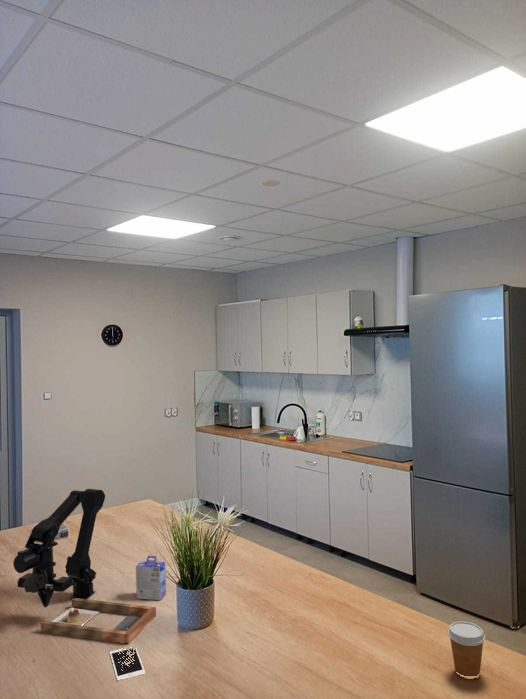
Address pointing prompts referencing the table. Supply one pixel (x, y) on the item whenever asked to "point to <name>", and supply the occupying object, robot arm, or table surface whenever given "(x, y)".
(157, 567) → the ink cartridge box
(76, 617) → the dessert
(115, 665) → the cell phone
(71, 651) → the table surface
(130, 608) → the walled channel
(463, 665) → the disposable coffee cup
